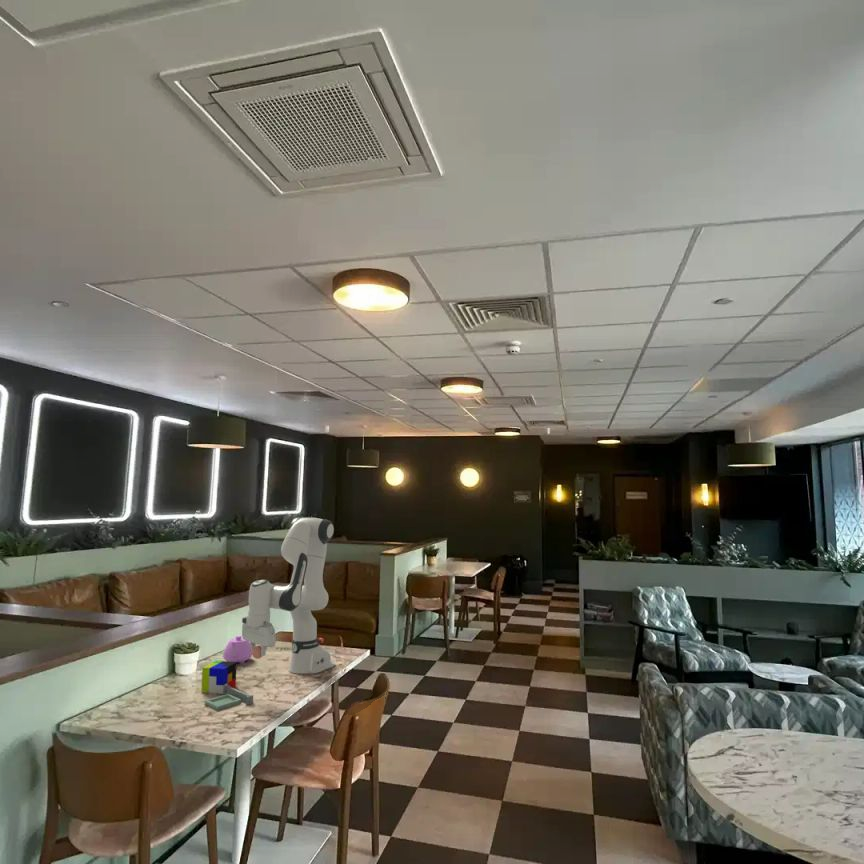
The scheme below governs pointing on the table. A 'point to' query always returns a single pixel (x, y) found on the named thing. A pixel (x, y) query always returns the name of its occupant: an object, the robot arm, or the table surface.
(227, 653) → the teapot
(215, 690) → the puzzle toy
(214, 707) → the dish
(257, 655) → the ball
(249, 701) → the bar with end supports
